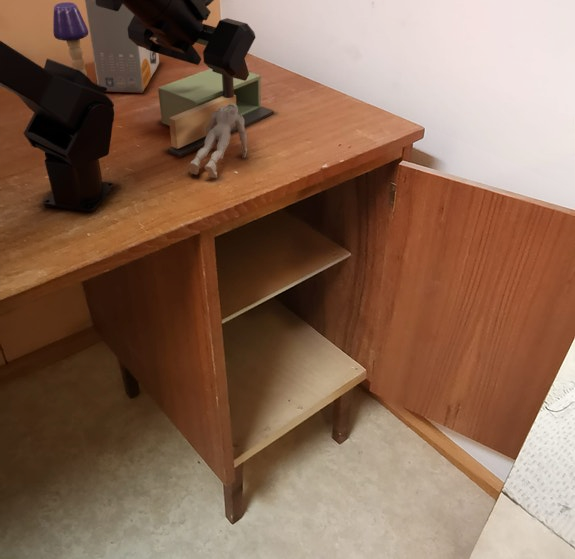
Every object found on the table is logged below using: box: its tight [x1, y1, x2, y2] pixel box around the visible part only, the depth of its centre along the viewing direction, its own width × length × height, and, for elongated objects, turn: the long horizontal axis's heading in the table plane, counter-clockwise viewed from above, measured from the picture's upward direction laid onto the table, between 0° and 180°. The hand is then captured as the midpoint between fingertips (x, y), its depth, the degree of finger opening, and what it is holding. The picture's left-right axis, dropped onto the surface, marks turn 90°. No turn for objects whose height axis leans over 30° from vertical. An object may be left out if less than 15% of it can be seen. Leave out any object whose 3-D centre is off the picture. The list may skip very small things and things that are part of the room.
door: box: [169, 75, 236, 149], centre depth 85 cm, size 12×2×10 cm, turn 141°
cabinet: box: [157, 68, 275, 158], centre depth 91 cm, size 20×10×6 cm, turn 141°
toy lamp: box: [52, 2, 89, 77], centre depth 87 cm, size 5×5×17 cm
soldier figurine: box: [188, 103, 248, 179], centre depth 82 cm, size 6×5×12 cm
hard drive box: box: [84, 0, 160, 94], centre depth 101 cm, size 16×8×20 cm, turn 179°
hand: (222, 69), depth 85 cm, fingers open, 9 cm apart
